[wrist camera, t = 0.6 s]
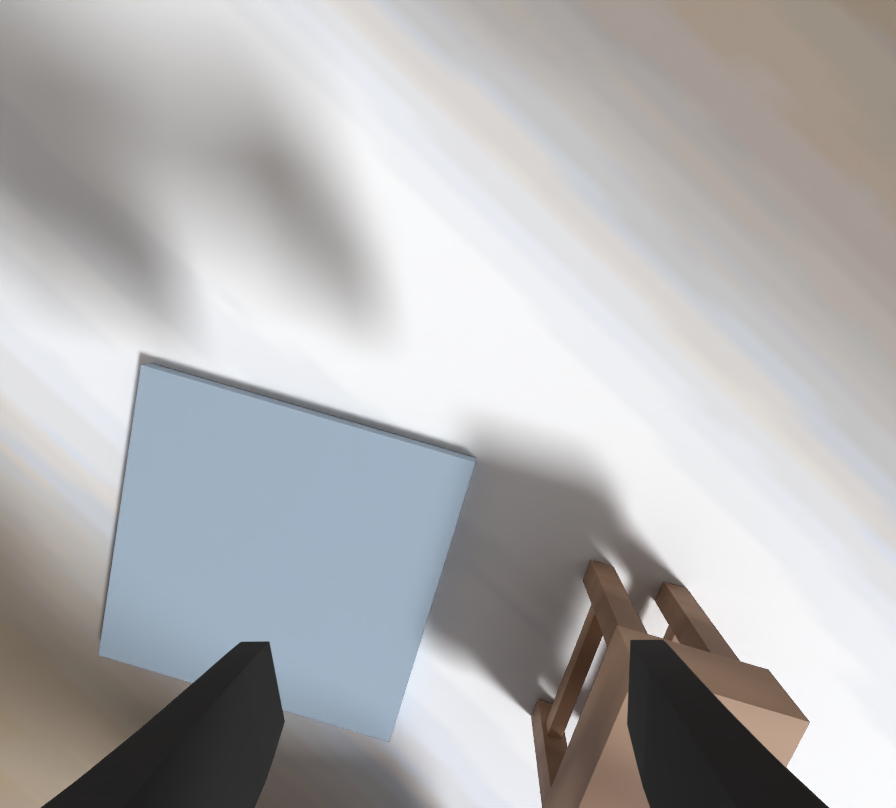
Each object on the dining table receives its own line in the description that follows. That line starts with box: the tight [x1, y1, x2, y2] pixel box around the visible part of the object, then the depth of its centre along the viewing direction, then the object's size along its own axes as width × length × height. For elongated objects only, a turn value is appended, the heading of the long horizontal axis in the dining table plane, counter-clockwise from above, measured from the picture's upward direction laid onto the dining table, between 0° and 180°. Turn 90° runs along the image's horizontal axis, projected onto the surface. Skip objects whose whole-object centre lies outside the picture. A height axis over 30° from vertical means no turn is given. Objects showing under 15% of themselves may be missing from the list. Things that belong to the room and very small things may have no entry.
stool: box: [531, 560, 810, 808], centre depth 18 cm, size 9×5×7 cm, turn 164°
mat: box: [99, 363, 476, 742], centre depth 21 cm, size 14×14×1 cm
